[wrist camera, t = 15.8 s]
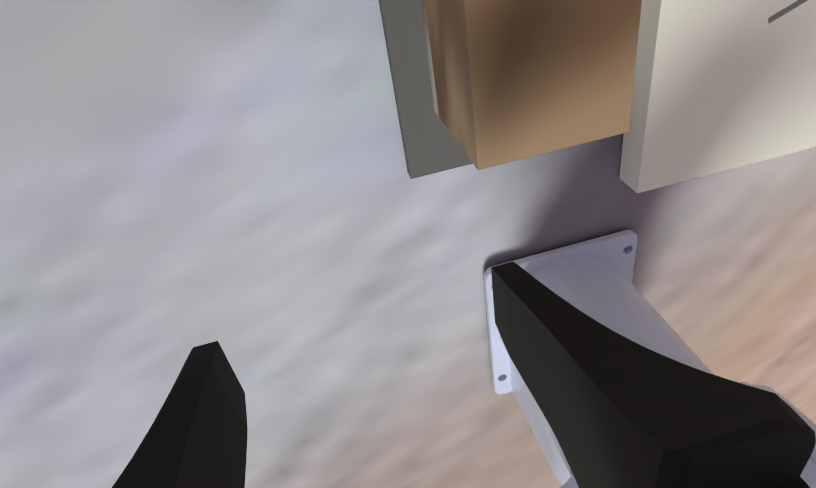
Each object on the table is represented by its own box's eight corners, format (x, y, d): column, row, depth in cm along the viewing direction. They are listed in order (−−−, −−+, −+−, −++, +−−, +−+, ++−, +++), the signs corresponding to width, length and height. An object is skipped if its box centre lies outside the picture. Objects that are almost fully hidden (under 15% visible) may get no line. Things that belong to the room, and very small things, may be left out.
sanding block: (557, 81, 21) (628, 132, 17) (434, 111, 21) (477, 170, 17) (561, -135, 17) (655, -136, 13) (407, -105, 16) (456, -96, 12)
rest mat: (577, 130, 23) (584, 135, 23) (407, 172, 22) (411, 179, 22) (594, -240, 16) (604, -243, 16) (345, -195, 15) (348, -197, 15)
